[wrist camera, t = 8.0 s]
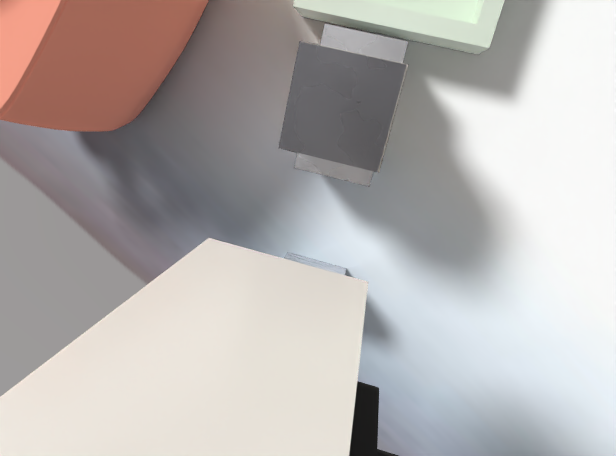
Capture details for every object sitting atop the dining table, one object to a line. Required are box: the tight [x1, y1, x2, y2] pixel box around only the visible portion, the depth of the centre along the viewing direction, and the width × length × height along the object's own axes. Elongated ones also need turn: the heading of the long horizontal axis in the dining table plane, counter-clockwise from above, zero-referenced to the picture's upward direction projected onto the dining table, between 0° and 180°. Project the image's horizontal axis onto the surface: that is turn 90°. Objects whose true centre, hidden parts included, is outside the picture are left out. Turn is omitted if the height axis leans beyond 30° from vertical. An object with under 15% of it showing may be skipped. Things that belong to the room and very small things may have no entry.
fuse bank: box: [279, 24, 409, 275], centre depth 25 cm, size 5×16×10 cm, turn 167°
